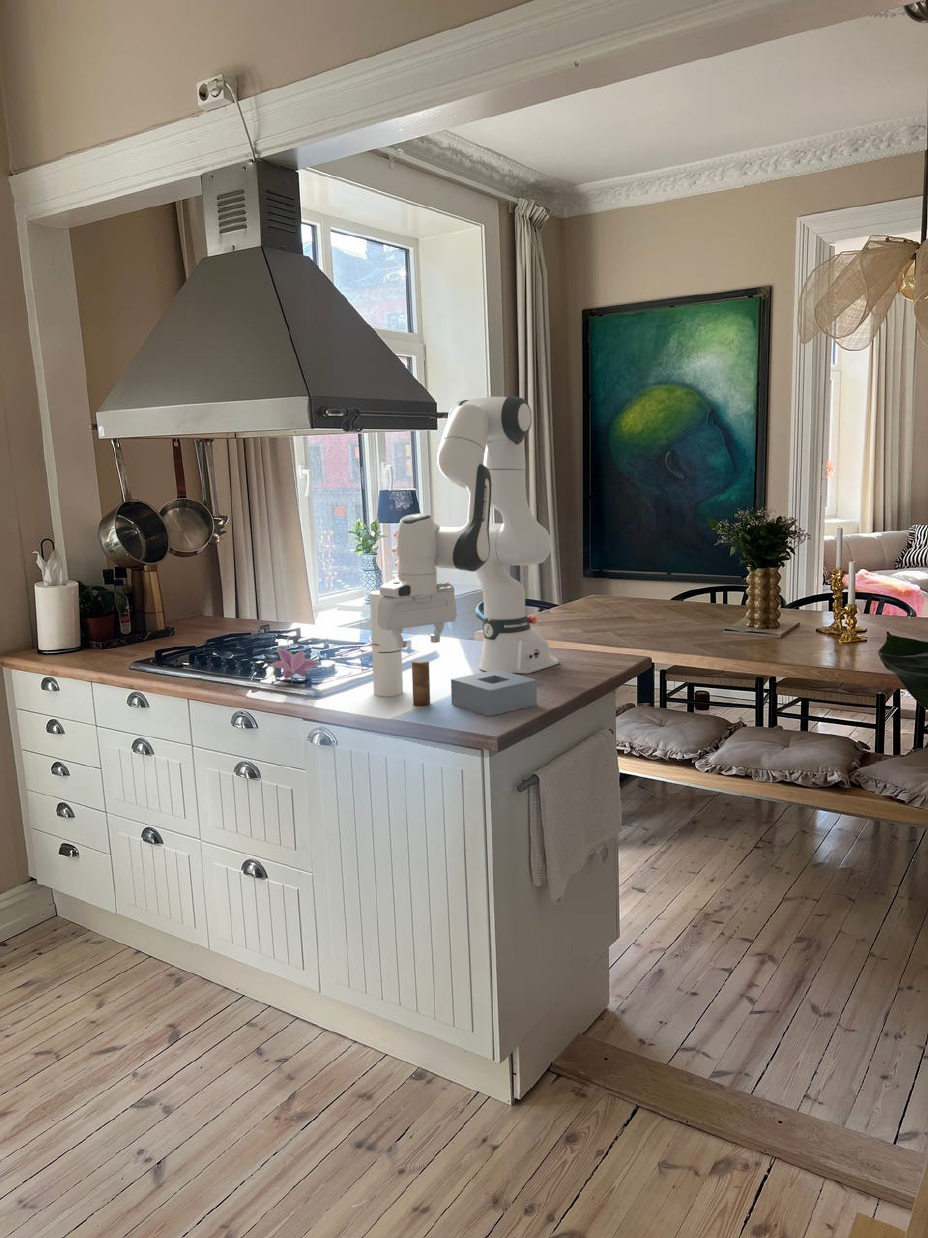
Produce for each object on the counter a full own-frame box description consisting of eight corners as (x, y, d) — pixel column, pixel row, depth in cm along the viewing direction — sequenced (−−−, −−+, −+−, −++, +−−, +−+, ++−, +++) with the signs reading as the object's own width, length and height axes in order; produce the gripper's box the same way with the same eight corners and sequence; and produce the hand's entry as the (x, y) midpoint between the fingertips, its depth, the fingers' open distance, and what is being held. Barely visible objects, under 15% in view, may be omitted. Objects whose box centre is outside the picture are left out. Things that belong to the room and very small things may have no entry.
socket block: (497, 693, 225) (497, 669, 224) (536, 705, 214) (536, 679, 213) (451, 704, 216) (451, 679, 215) (490, 716, 205) (489, 690, 204)
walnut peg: (423, 700, 220) (422, 659, 218) (433, 704, 217) (432, 662, 215) (409, 703, 217) (408, 662, 216) (419, 707, 214) (418, 665, 212)
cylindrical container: (388, 687, 233) (384, 589, 228) (409, 691, 228) (405, 591, 224) (367, 693, 227) (363, 592, 223) (388, 698, 223) (384, 595, 218)
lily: (327, 687, 239) (326, 651, 242) (295, 678, 230) (295, 641, 233) (292, 696, 245) (291, 661, 248) (260, 688, 236) (260, 652, 239)
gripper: (445, 580, 221) (446, 637, 223) (372, 588, 208) (374, 648, 210) (461, 582, 216) (462, 641, 218) (388, 590, 203) (390, 652, 205)
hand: (418, 644), depth 214 cm, fingers open, 8 cm apart
